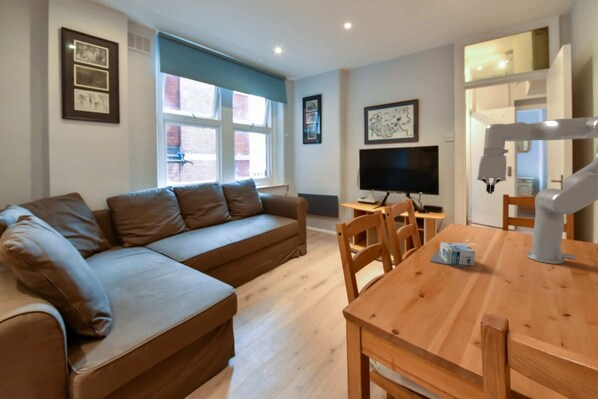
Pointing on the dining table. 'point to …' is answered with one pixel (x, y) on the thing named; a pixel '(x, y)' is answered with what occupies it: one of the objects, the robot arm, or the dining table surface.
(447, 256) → the light bulb box
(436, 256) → the mat
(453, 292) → the dining table surface
